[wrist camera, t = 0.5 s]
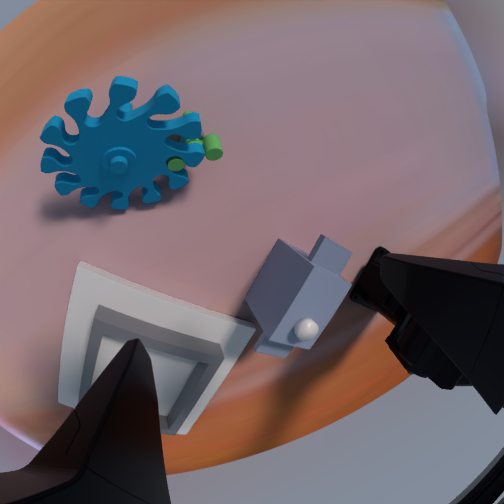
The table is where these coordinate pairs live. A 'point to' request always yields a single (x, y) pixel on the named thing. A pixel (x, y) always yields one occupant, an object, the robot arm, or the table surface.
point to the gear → (125, 146)
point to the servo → (297, 295)
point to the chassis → (148, 343)
